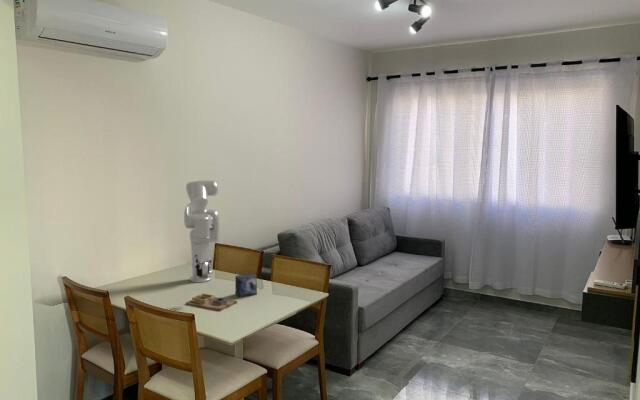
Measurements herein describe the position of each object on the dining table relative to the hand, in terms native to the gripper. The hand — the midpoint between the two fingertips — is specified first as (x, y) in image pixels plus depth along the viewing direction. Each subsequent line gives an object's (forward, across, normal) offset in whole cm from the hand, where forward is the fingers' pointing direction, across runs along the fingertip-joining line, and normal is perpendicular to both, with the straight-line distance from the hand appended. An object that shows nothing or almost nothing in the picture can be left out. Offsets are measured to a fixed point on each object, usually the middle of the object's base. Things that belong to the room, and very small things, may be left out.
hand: (203, 274), depth 250 cm
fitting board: (+15, 0, +5) cm, 16 cm away
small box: (+15, -21, +12) cm, 29 cm away
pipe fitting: (+1, 0, 0) cm, 1 cm away
